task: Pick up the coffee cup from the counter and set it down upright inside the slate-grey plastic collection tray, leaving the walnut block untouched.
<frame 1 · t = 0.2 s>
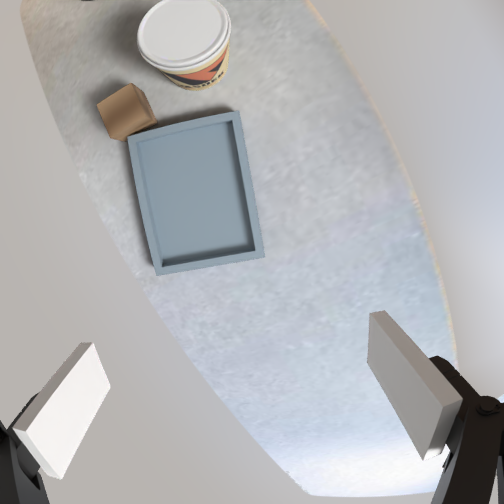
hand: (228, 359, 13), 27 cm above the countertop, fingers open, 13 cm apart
collection tray: (197, 193, 38), on the countertop
walnut block: (134, 116, 36), on the countertop
coffee cup: (198, 65, 35), on the countertop
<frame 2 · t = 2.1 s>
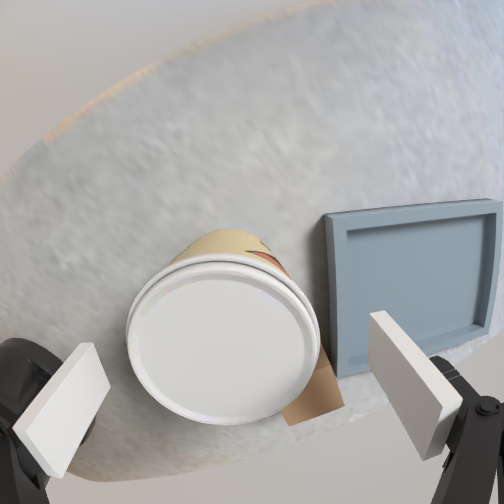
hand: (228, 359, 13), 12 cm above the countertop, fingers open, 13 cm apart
collection tray: (419, 279, 26), on the countertop
walnut block: (298, 364, 27), on the countertop
coffee cup: (229, 275, 25), on the countertop
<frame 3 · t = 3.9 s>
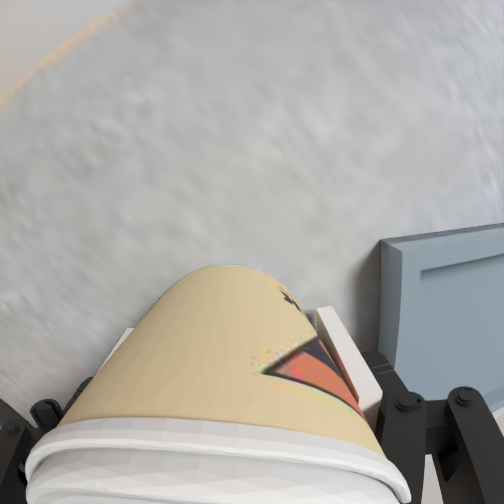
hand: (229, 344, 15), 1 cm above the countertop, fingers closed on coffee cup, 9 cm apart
collection tray: (488, 325, 16), on the countertop
coffee cup: (229, 333, 16), on the countertop, touching gripper
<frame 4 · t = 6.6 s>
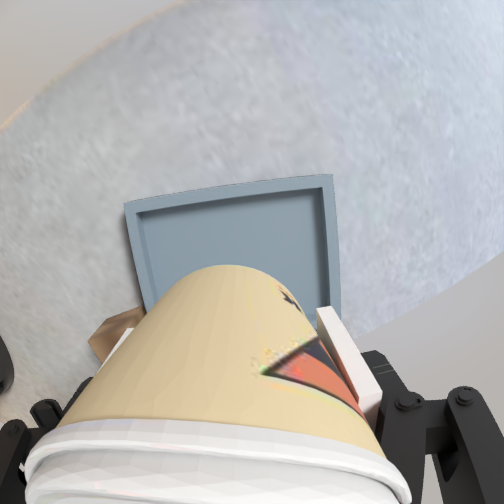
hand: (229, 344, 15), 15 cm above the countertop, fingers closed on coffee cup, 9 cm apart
collection tray: (237, 260, 29), on the countertop
walnut block: (135, 331, 31), on the countertop
coffee cup: (229, 333, 16), point 14 cm above the countertop, touching gripper
when the fingers open (3 cm above the countertop, at t = 9.6 s): coffee cup stays where it is, resting on collection tray.
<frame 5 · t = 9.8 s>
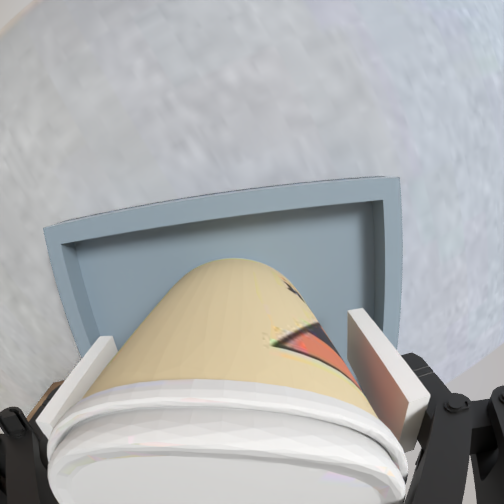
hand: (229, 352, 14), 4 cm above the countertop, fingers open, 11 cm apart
collection tray: (232, 318, 17), on the countertop
coffee cup: (234, 324, 17), point 1 cm above the countertop, touching collection tray
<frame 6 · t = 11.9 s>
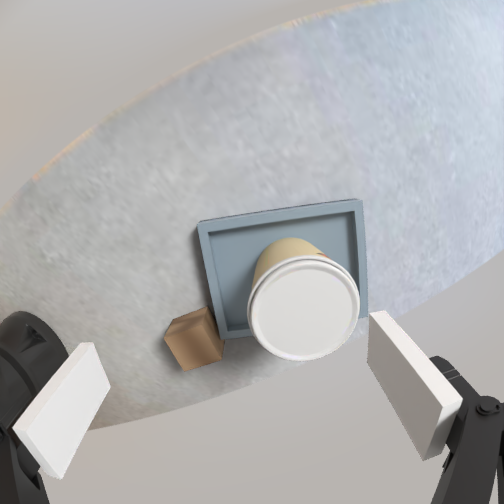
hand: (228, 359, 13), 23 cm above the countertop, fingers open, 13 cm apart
collection tray: (287, 267, 36), on the countertop
walnut block: (199, 328, 39), on the countertop
coffee cup: (289, 269, 36), point 1 cm above the countertop, touching collection tray
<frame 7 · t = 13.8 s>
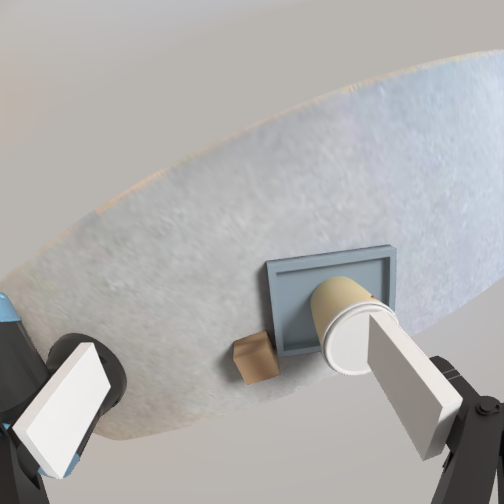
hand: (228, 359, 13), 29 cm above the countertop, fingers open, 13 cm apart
collection tray: (333, 299, 44), on the countertop
walnut block: (256, 348, 46), on the countertop
coffee cup: (335, 300, 43), point 1 cm above the countertop, touching collection tray
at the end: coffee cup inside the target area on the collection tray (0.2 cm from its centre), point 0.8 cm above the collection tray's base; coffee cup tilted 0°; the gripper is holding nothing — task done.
